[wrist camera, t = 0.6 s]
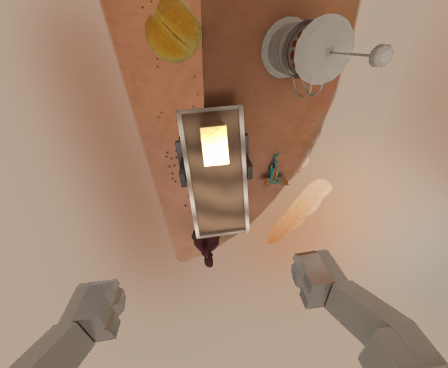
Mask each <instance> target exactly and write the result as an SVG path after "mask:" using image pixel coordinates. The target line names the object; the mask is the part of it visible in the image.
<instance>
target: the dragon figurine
mask: <svg viewBox="0 0 448 368" xmlns="http://www.w3.org/2000/svg"><path fill="white" fill-rule="evenodd" d="M278 155H279V153H278ZM278 155H276V156H278ZM274 161H275V167H274V169H273V165H272V164H271V168H270V169H269V176H270V177H269V178H268V177H267V179H265V178H264V179H265V180H266V182H263V183H264V185H263V186H268V185H269V183H270V185H271V184H274V183H275V184H277V183H278V181H279V184H281V185H288V181H285V179H286V177H285V178H283V177H281V178H279V177H277V176H278V174H279V169H278V163H277V161H276V159H275V155H274ZM276 178H277V179H276Z"/></svg>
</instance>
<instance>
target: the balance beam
mask: <svg viewBox="0 0 448 368" xmlns="http://www.w3.org/2000/svg"><path fill="white" fill-rule="evenodd" d="M176 116H177V122H178V128H179V134H180V140H181V147H182V153H183V159H184V165H185V172H186V178H187V184H188V190H189V197H190V203H191V209H192V215H193V221H194V228H195V234H196V239H200V238H207V237H215V236H222V235H230V234H238V233H245V232H250V228H249V208H248V188H247V169H246V149H245V130H244V110H243V105H242V104H241V105H230V106H220V107H209V108H199V109H188V110H178V111H176ZM212 122H223V123H224V124H225V125H226V127H227V139H228V152H229V164H223V165H214V166H206V167H205V166H204V158H203V150H202V142H201V134H200V124H202V123H212Z"/></svg>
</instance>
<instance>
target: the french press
mask: <svg viewBox="0 0 448 368" xmlns="http://www.w3.org/2000/svg"><path fill="white" fill-rule="evenodd" d="M353 47H354V31H353V29H352V27H351V25H350V23H349V21H348V20H347V19H345V18H344V17H343V16H341V15H340V14H325V15H323V16H320V17H318V18H316V19H312V20H301V19H300V18H298V17H285V18H282V19H280V20H278V21H276V22H275V23H274V24H273V26H272V27H271V28H270V29H269V30H268V31H267V33H266V36H265V38H264V40H263V43H262V53H261V56H262V60H263V64H264V67H265V68H266V69H267V71H268V72H269V73H270V74H271V75H273V76H275V77H277V78H289V77H292V79H293V84H294V88H295V91H296V93H297V94H298V96H299V97H301V98H306V97H307V96H308V95H311V96H315V95H317V94H318V93H319V92H320V90H321V89H322V86H323V84H324V83H327V82H329V81H331V80H333V79H334V78H335V77H337V76H338V75H339V74H340V73H341V72H342V71H343V70H344V68H345V66H346V65H347V63H348V62H349V60H350V57H351V55H355V56H368V57H369V64H370V65H371V66H372V67H383V66H384V65H386V64H387V63H388V62H389V61H390V60H391V59H392V57H393V53H394V51H393V49H392V46H391V45H389V44H380V45H378V46H376V47H375V48H374V49H373V50H372V51H371V53H370V54H356V53H352V51H353ZM295 75H297V76H295ZM294 77H295V78H301V80H302V82H303V86H304V89H305V91H306V92H307V93H308V94H307V95H306V96H301V95H300V94H299V93H298V91H297V89H296V86H295V82H294ZM304 81H305V82H307V83H309V84H311V87H310V90H309V92H308V91H307V89H306V87H305V84H304ZM312 85H321V86H320V89H319V90H318V92H317V93H316V94H311V93H310V92H311V89H312Z"/></svg>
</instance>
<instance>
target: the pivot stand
mask: <svg viewBox="0 0 448 368" xmlns="http://www.w3.org/2000/svg"><path fill="white" fill-rule="evenodd" d="M175 146H176V151H177V155H178V160H179V165H180V170H179V177H180V182H181V186H182V187H187V178H186V172H185V165H184V159H183V153H182V147H181V140H180V141H175ZM245 149H246V169H247V179H252V172H253V166H252V164H251V162H250V160H249V158H248V134H245Z"/></svg>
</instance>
